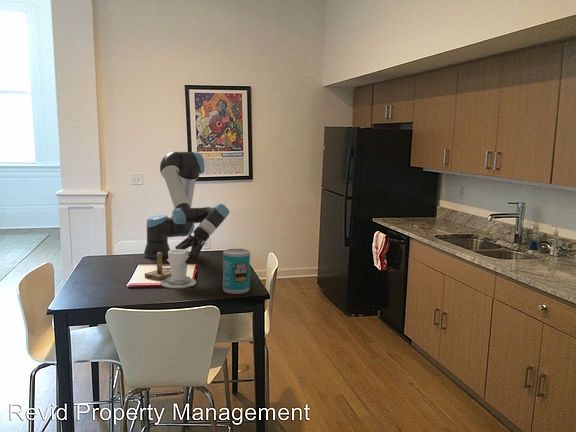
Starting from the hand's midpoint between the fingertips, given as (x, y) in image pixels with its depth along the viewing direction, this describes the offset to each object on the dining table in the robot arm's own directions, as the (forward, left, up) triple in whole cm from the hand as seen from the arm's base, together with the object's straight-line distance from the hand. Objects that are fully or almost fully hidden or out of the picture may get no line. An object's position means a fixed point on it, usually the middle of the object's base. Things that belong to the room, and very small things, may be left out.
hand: (174, 265), depth 221 cm
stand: (-15, +3, -9) cm, 18 cm away
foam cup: (+1, +2, -7) cm, 7 cm away
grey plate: (+1, +2, -9) cm, 9 cm away
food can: (+27, +14, -9) cm, 31 cm away
